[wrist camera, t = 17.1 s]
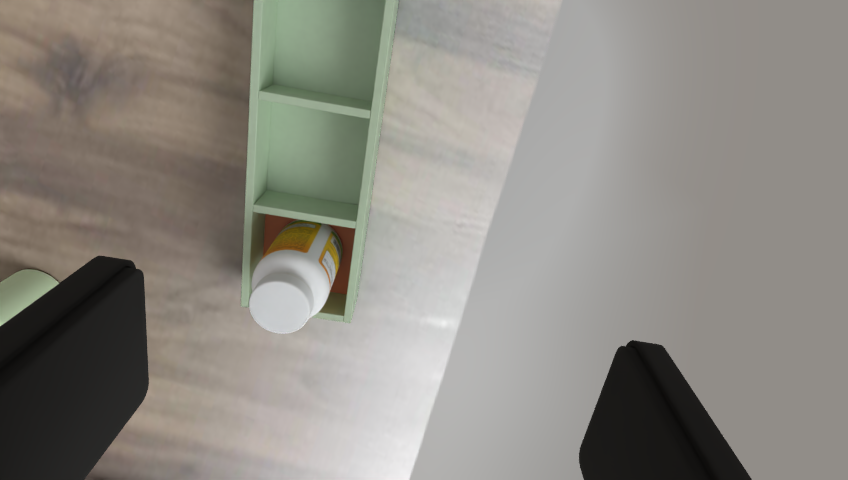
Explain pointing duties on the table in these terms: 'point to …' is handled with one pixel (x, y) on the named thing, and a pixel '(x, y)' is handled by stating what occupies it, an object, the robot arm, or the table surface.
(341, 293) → the tray
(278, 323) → the supplement bottle
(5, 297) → the candle
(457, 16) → the table surface
